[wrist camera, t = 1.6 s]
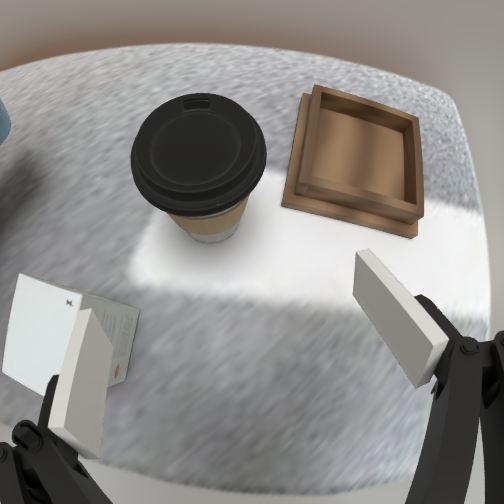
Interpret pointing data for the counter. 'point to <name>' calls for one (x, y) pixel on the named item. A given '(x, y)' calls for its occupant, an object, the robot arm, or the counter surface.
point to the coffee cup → (199, 162)
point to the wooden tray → (356, 163)
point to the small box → (59, 331)
